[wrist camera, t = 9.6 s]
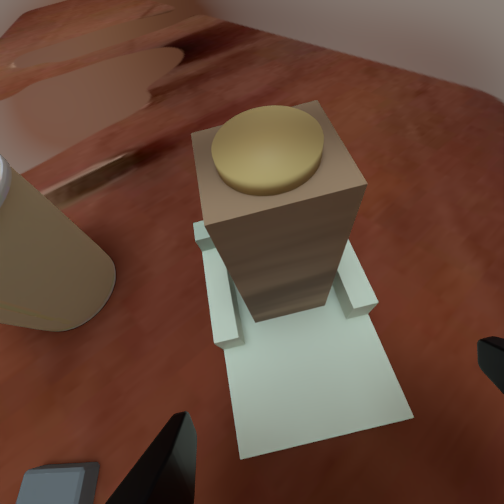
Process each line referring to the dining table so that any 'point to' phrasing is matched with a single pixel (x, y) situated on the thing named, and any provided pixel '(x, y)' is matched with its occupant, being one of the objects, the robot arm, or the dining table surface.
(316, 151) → the walnut block
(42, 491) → the bracket
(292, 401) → the sage cradle
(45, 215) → the coffee cup
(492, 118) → the dining table surface
